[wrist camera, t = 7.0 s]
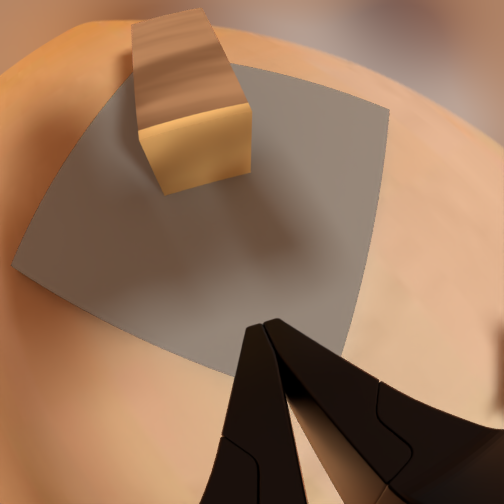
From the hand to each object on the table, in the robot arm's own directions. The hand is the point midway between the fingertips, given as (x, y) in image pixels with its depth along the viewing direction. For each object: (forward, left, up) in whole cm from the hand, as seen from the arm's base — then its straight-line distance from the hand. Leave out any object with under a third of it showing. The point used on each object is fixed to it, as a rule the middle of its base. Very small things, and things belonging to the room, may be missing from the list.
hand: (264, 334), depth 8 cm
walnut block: (+7, +5, -4) cm, 10 cm away
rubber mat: (+8, +6, -8) cm, 13 cm away
